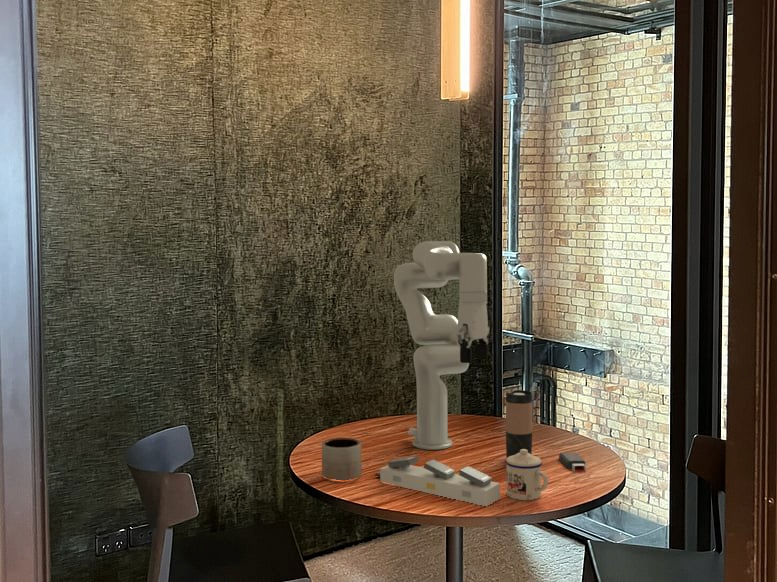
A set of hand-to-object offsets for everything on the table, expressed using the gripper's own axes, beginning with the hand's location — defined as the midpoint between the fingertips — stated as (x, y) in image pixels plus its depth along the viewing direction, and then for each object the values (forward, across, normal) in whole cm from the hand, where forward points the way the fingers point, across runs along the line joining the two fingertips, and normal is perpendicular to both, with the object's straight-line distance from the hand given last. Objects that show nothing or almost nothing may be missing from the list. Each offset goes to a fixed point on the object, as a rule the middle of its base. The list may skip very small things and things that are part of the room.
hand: (474, 360), depth 211 cm
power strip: (+32, +18, -4) cm, 37 cm away
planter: (+31, +22, -30) cm, 48 cm away
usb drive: (+32, -22, +20) cm, 44 cm away
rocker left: (+26, +18, -12) cm, 34 cm away
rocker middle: (+27, +18, -1) cm, 32 cm away
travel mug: (+31, -18, +5) cm, 36 cm away
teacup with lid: (+32, +10, +20) cm, 39 cm away
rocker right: (+27, +19, +9) cm, 34 cm away
